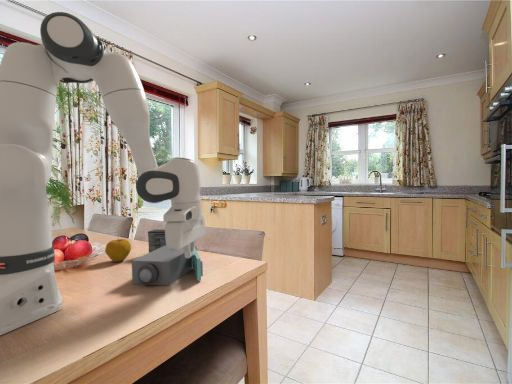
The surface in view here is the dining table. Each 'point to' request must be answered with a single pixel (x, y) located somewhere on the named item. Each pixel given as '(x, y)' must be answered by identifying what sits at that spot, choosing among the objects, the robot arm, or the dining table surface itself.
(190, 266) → the block
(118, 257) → the apple
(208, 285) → the dining table surface
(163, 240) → the small box
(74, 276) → the dining table surface
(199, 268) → the side door
